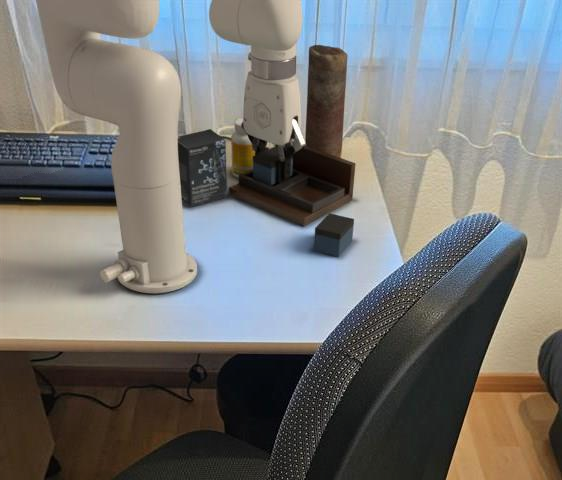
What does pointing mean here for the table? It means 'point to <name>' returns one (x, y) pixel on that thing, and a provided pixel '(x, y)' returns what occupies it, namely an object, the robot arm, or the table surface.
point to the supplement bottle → (241, 150)
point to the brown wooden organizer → (302, 187)
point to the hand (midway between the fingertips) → (272, 175)
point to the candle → (326, 99)
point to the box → (202, 167)
